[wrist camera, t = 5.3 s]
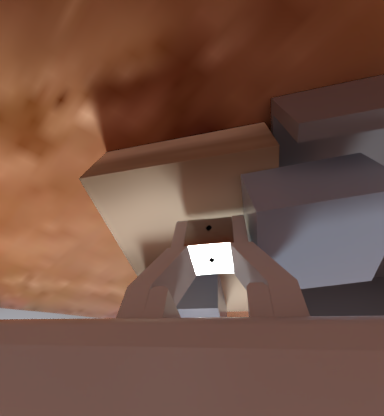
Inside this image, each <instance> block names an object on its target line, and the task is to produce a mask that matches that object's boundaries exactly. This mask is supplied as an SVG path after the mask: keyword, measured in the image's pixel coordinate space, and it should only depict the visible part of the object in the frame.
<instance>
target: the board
mask: <svg viewBox="0 0 384 416" xmlns="http://www.w3.org/2000/svg"><path fill="white" fill-rule="evenodd" d="M278 167H279V144H278V142H277V141H276V139H275V137H274V136H273V134H272V133H271V131H270V130H269V128H268V127H267V125H266V124H265V122H263V123H257V124H252V125H247V126H242V127H236V128H231V129H226V130H220V131H215V132H210V133H205V134H199V135H194V136H189V137H184V138H178V139H173V140H168V141H163V142H157V143H152V144H147V145H142V146H136V147H131V148H126V149H120V150H115V151H110V152H106V153H105V154H104V155H103V156H102V157H101V158H100V159H99V160H98V161H97V162H96V163H95V164H94V165H93V166H91V167H90V168H89V169H88V170H87V171H86V172H85V173H84V174H83V175H82V176H81V177H80V178H79V180H80V181H81V183H82V185H83V186H84V188H85V190H86V191H87V193H88V195H89V196H90V198H91V200H92V201H93V203H94V205H95V206H96V208H97V210H98V211H99V213H100V215H101V216H102V218H103V220H104V221H105V223H106V225H107V226H108V228H109V230H110V231H111V233H112V235H113V236H114V238H115V240H116V241H117V243H118V245H119V246H120V248H121V250H122V251H123V253H124V255H125V256H126V258H127V260H128V261H129V263H130V265H131V266H132V268H133V270H134V271H135V273H136V275H137V276H139V275H140V274H141V273H142V272H143V271H144V270H145V269H146V268H147V267H148V266H149V265H150V264H151V263H152V262H153V261H154V260H156V259H157V258H158V257H159V256H160V255H161V254H162V253H163V252H164V251H165V250H166V249H167V248H171V244H172V239H173V235H174V230H175V226H176V223H177V222H178V221H186V220H197V219H211V218H220V217H230V216H231V217H232V216H235V215H243V202H242V189H241V175H240V174H245V173H251V172H256V171H262V170H267V169H273V168H278ZM219 275H220V280H221V284H222V288H223V293H224V297H225V302H226V306H227V312H230V311H248V300H247V290H246V289H245V288H244V286H243V285H242V284H241V282H240V281H239V280H238V278H237V277H236V276H235V274H234V273H228V274H219Z"/></svg>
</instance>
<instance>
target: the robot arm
mask: <svg viewBox="0 0 384 416" xmlns="http://www.w3.org/2000/svg"><path fill="white" fill-rule="evenodd" d="M228 273H234V274H235V276H236V277H237V278H238V280H239V281H240V282H241V284H242V285H243V286H244V288H245V289H246V290H247V300H248V312H249V317H201V318H181V316H180V314H179V312H178V310H177V307H176V306H177V304H178V303H179V301H180V300H181V298H182V297H183V295H184V294H185V292H186V291H187V289H188V288H189V286H190V285H191V283H192V282H193V280H194V279H195V277H196V275H206V274H228ZM0 416H384V315H383V316H310V314H309V311H308V309H307V306H306V303H305V300H304V297H303V294H302V292H301V289H300V286H299V283H298V280H297V279H296V278H294V277H293V276H292V275H291V274H290V273H289V272H287V271H286V270H285V269H284V268H283V267H282V266H280V265H279V264H278V263H277V262H276V261H275V260H273V259H272V258H271V257H270V256H269V255H268V254H266V253H265V252H264V251H263V250H262V249H260V248H259V247H258V246H257V245H256V244H255V243H253V242H249V241H248V235H247V230H246V224H245V218H244V215H235V216H232V217H231V216H230V217H220V218H211V219H197V220H186V221H178V222H177V223H176V226H175V230H174V235H173V239H172V244H171V248H167V249H166V250H165V251H164V252H163V253H162V254H161V255H160V256H159V257H158V258H157V259H156V260H154V261H153V262H152V263H151V264H150V265H149V266H148V267H147V268H146V269H145V270H144V271H143V272H142V273H141V274H140V275H139V276H138V277H137V278H136V279H135V280H134V281H133V282H132V283H131V284H130V285H129V286H128V287H127V290H126V292H125V295H124V298H123V300H122V303H121V306H120V309H119V311H118V314H117V317H116V318H108V319H19V320H18V319H14V320H13V319H10V320H0Z"/></svg>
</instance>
